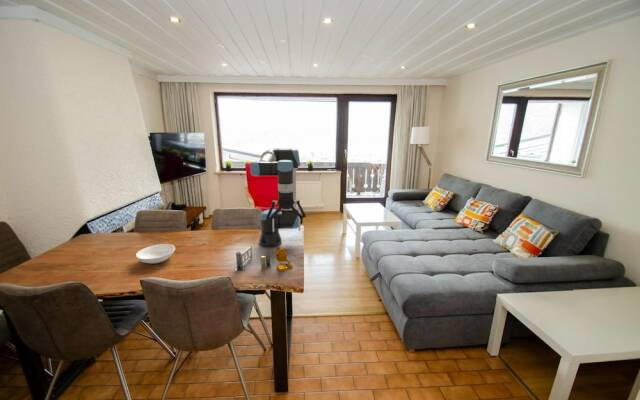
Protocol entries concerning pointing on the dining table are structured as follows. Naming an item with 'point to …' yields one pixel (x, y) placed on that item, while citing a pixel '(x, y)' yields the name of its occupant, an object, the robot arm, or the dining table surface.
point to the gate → (247, 255)
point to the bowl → (155, 253)
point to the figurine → (282, 260)
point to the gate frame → (263, 262)
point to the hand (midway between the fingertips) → (286, 230)
